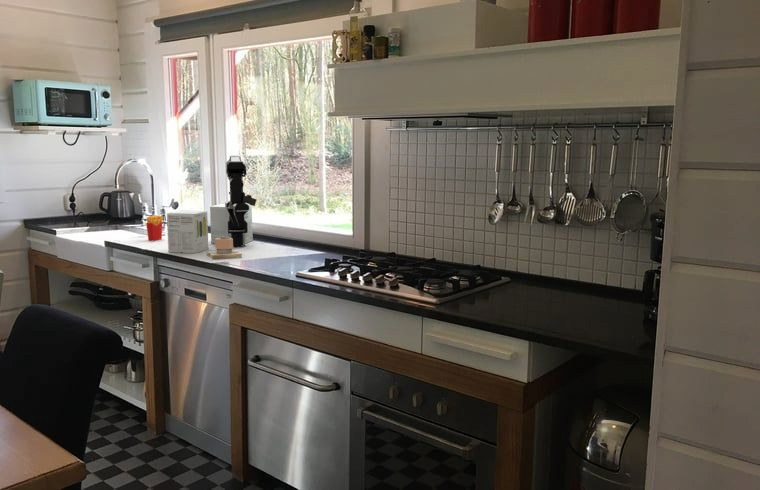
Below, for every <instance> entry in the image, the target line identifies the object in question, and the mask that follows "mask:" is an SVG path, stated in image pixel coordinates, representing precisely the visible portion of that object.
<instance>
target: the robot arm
mask: <svg viewBox="0 0 760 490" xmlns="http://www.w3.org/2000/svg"><path fill="white" fill-rule="evenodd" d="M225 167H226V168H225V172H226V175H227V179H228V181H229V192H228V195H229V200H227V201H226V202H225V203H224V205H225V207H226V209H227V211H228V213H229V215H230V216H229V221H228V234H229V233H231V238H233V248H237V247H246V246H247V245H246V244H244V240H243V233H248V223H247V222H246V220H244V215H245V213H247V212H248V211H247V210H249V205H252V207H255V206H256V203H257V199H256V198H253V196H252V195H251V194H246V193H245V191H244V187H245V186H244V184H245V183H244V178H245V177H246V176H247V174H248V173H247V166H246V164H245V163H244V161H243V160H242V159H241V155H229V159H228V160H227V161H226V162H225ZM229 230H245V231H229Z"/></svg>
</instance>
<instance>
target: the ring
mask: <svg viewBox="0 0 760 490" xmlns="http://www.w3.org/2000/svg"><path fill="white" fill-rule="evenodd" d="M214 247H215V249H231V248H232V249H234V247H233V238H227V239H221V238H216V239H215V243H214Z"/></svg>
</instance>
